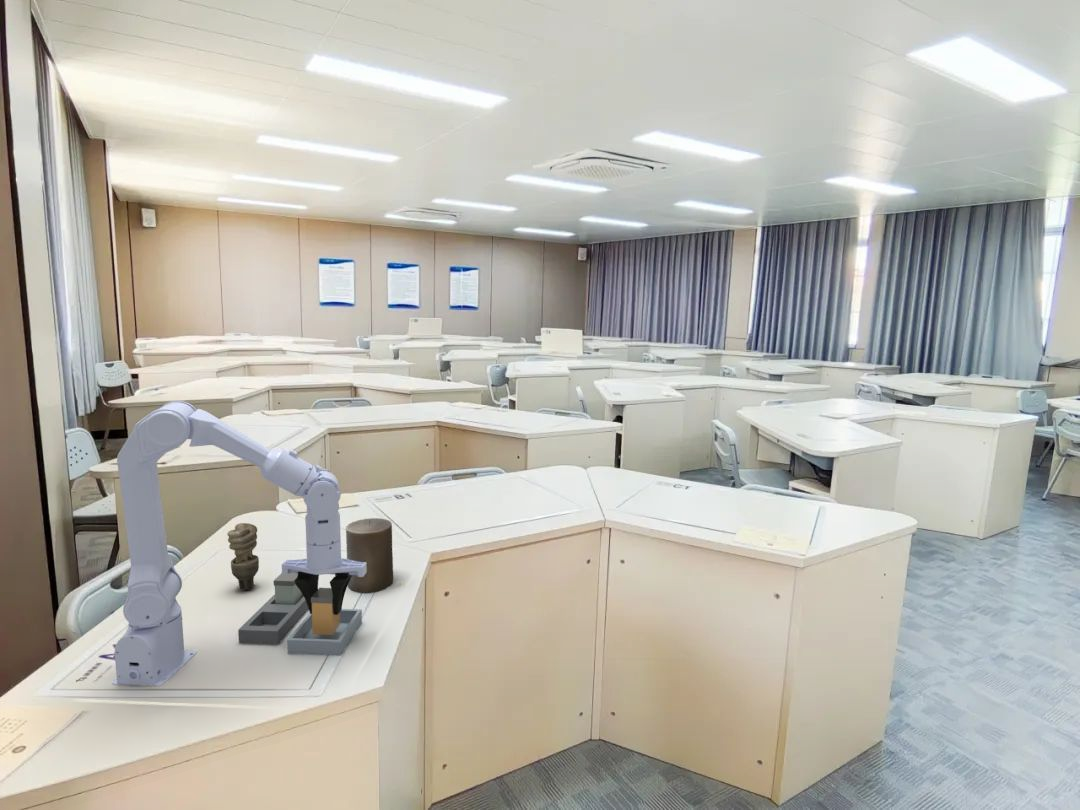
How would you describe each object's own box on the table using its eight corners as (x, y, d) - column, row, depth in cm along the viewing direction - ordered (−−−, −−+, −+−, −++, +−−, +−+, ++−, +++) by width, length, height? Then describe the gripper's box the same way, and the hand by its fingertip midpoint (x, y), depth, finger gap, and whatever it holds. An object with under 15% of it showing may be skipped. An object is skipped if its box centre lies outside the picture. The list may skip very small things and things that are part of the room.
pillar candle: (401, 586, 127) (400, 520, 125) (359, 599, 120) (358, 530, 118) (379, 572, 134) (378, 509, 132) (339, 584, 127) (337, 518, 125)
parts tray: (340, 658, 100) (340, 641, 99) (287, 656, 100) (286, 639, 99) (362, 624, 111) (361, 609, 110) (314, 622, 111) (313, 607, 111)
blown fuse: (332, 635, 103) (332, 598, 102) (311, 634, 103) (310, 597, 102) (340, 624, 107) (340, 588, 106) (320, 623, 107) (319, 587, 106)
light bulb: (247, 599, 119) (244, 529, 117) (224, 596, 120) (220, 526, 118) (265, 587, 125) (262, 520, 123) (243, 584, 126) (239, 517, 124)
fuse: (294, 615, 112) (293, 581, 111) (275, 614, 113) (273, 580, 112) (302, 605, 116) (301, 572, 115) (284, 605, 116) (282, 572, 115)
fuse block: (278, 647, 103) (277, 631, 102) (239, 645, 103) (238, 629, 102) (315, 603, 118) (314, 589, 118) (281, 602, 118) (280, 588, 118)
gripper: (371, 532, 106) (372, 602, 108) (293, 530, 107) (296, 599, 109) (358, 547, 99) (360, 621, 101) (274, 545, 100) (278, 618, 102)
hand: (325, 611), depth 105 cm, fingers closed on blown fuse, 4 cm apart
